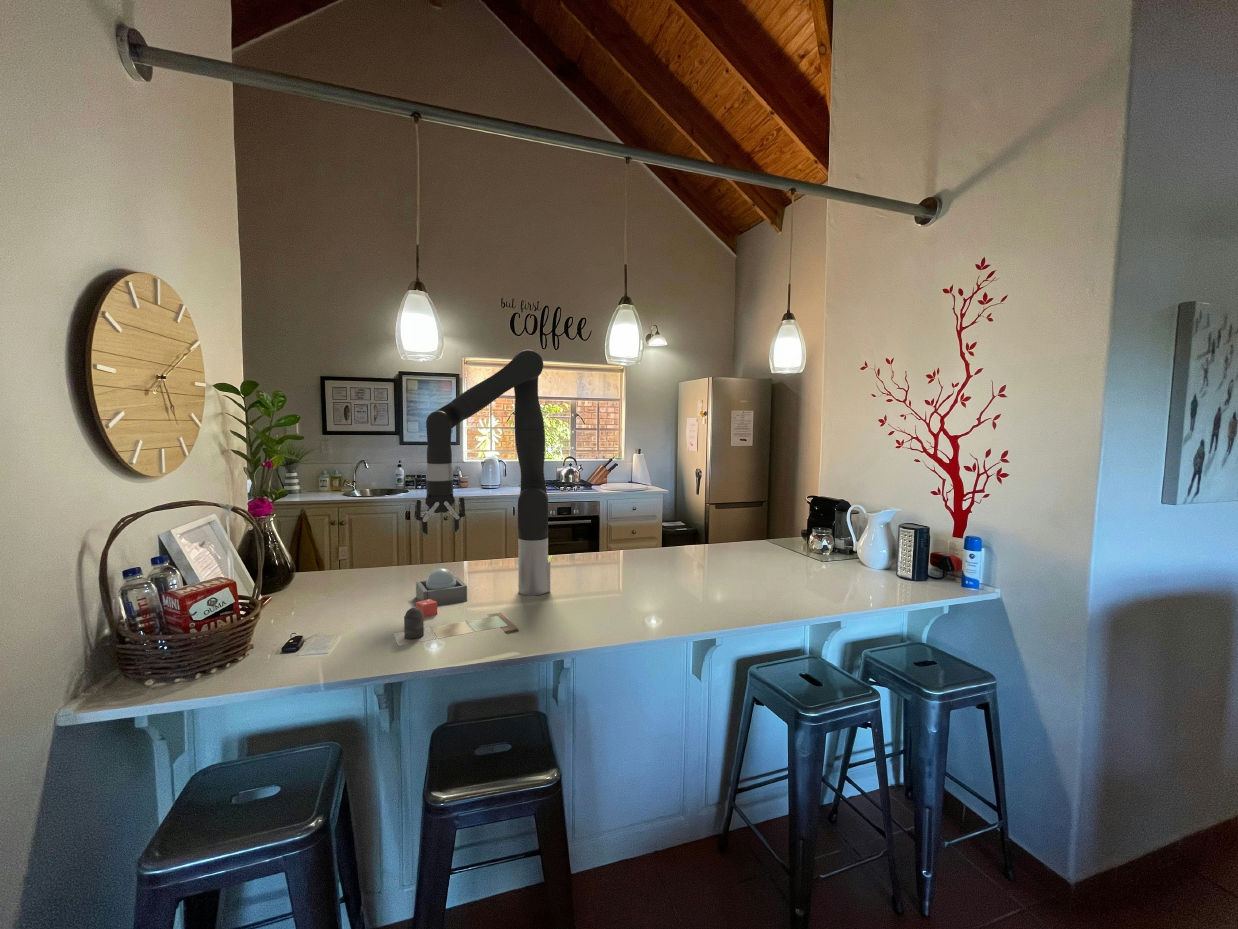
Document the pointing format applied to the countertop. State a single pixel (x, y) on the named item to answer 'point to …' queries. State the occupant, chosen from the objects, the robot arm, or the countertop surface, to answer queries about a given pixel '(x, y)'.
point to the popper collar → (442, 593)
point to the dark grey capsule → (413, 624)
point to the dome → (440, 579)
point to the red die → (427, 607)
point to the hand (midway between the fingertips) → (440, 532)
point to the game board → (462, 628)
